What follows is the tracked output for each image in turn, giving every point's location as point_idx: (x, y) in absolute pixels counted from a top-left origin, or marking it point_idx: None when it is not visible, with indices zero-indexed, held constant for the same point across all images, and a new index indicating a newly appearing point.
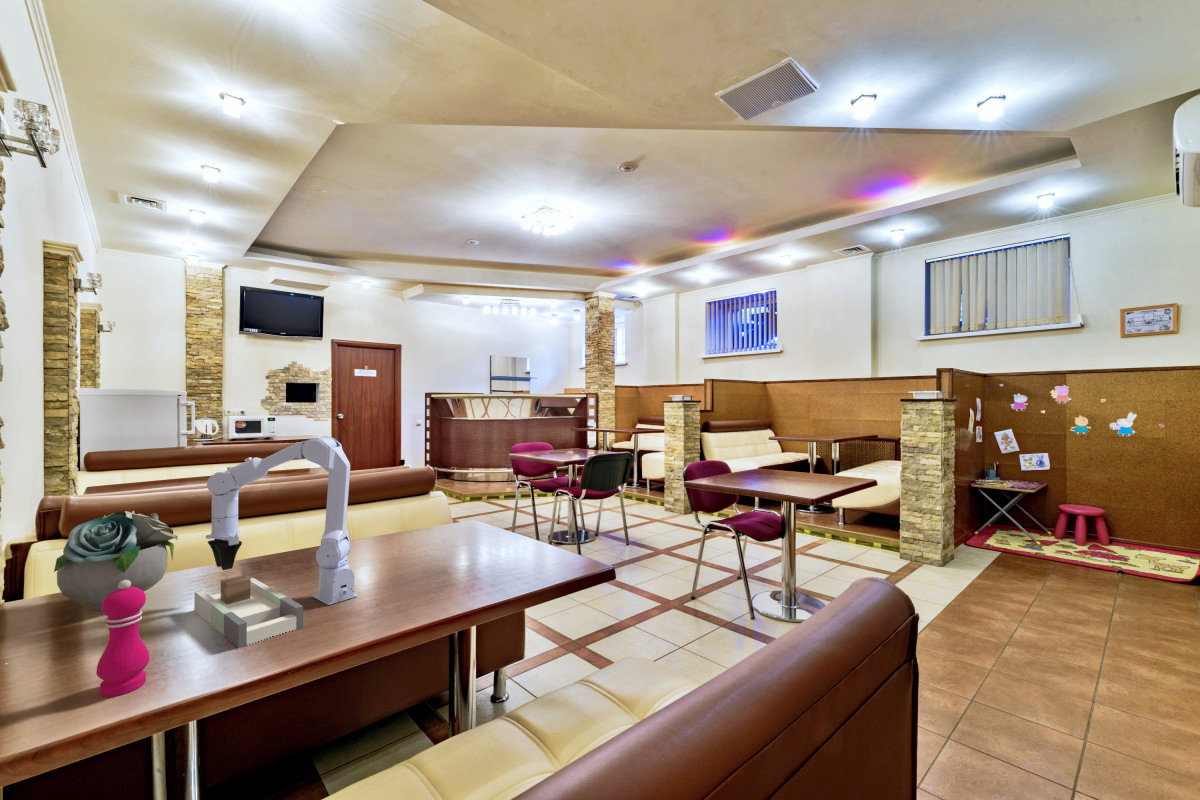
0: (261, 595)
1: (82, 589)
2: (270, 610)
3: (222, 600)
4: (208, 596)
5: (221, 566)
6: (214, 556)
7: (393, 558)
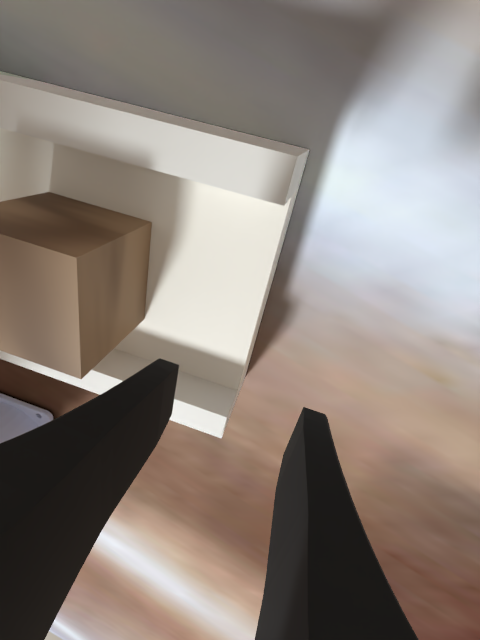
0: None
1: None
2: None
3: (118, 213)
4: (94, 142)
5: (158, 376)
6: (339, 499)
7: (183, 636)
